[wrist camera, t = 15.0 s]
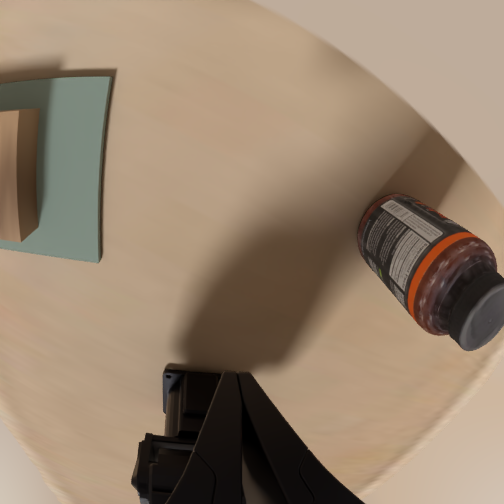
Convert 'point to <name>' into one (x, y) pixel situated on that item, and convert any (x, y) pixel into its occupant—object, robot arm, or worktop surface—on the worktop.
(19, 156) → the slab
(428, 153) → the worktop surface
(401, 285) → the supplement bottle
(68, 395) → the worktop surface
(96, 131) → the mat
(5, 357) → the worktop surface
